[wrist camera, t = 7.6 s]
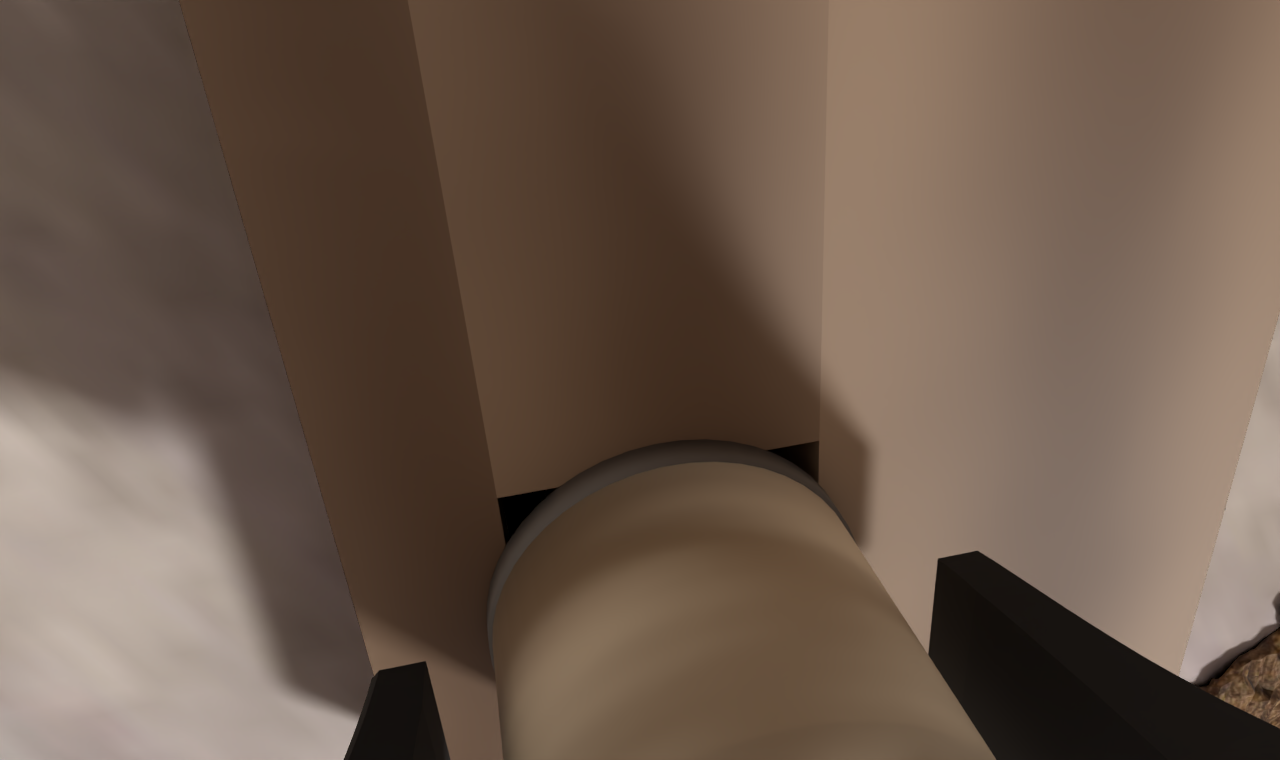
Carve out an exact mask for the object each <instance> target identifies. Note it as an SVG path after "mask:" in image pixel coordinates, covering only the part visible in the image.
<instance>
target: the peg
mask: <svg viewBox="0 0 1280 760" xmlns="http://www.w3.org/2000/svg"><path fill="white" fill-rule="evenodd" d="M487 630H488V641H489V650H490V655H491V661H492V666H493V669H494V672H495V678H496V688H497V699H498V709H499V720H500V730H501V741H502V752H503V760H996V758H995V757H994V755H993V754H992V752H991V751H990V749H989V748H988V746H987V744H986V743H985V741H984V740H983V738H982V737H981V735H980V734H979V732H978V731H977V729H976V728H975V726H974V724H973V723H972V721H971V720H970V718H969V717H968V715H967V714H966V712H965V711H964V709H963V708H962V706H961V704H960V703H959V701H958V700H957V698H956V697H955V695H954V694H953V692H952V691H951V689H950V688H949V686H948V684H947V683H946V681H945V680H944V678H943V677H942V675H941V674H940V672H939V671H938V669H937V668H936V666H935V664H934V663H933V661H932V660H931V658H930V657H929V655H928V654H927V652H926V651H925V649H924V648H923V646H922V644H921V643H920V641H919V640H918V638H917V637H916V635H915V634H914V632H913V631H912V629H911V628H910V626H909V625H908V623H907V621H906V620H905V618H904V617H903V615H902V614H901V612H900V611H899V609H898V608H897V606H896V605H895V603H894V601H893V600H892V598H891V597H890V595H889V594H888V592H887V591H886V589H885V588H884V586H883V585H882V583H881V581H880V580H879V578H878V577H877V575H876V574H875V572H874V571H873V569H872V568H871V566H870V565H869V563H868V561H867V560H866V558H865V557H864V555H863V554H862V552H861V551H860V549H859V548H858V546H857V545H856V541H855V539H854V537H853V535H852V533H851V530H850V528H849V526H848V524H847V523H846V521H845V520H844V518H843V517H842V515H841V514H840V512H839V511H838V509H837V508H836V506H835V505H834V503H833V502H832V500H831V499H830V497H829V496H828V494H827V493H826V492H825V490H824V489H823V488H822V487H821V486H820V485H819V484H818V483H817V482H816V481H815V480H814V479H813V478H812V477H811V476H810V475H809V474H808V473H806V472H805V471H803V470H802V469H801V468H799V467H798V466H797V465H795V464H794V463H792V462H790V461H788V460H786V459H784V458H782V457H781V456H779V455H777V454H775V453H772V452H769V451H766V450H763V449H761V448H758V447H755V446H751V445H746V444H741V443H737V442H732V441H721V440H709V439H699V440H678V441H672V442H665V443H659V444H653V445H649V446H645V447H642V448H638V449H634V450H631V451H627V452H625V453H622V454H620V455H617V456H614V457H612V458H609V459H607V460H604V461H602V462H600V463H598V464H596V465H594V466H592V467H590V468H589V469H587V470H585V471H583V472H581V473H579V474H578V475H576V476H575V477H573V478H572V479H570V480H569V481H567V482H566V483H564V484H563V485H561V486H560V487H557V488H551V489H546V492H545V497H544V500H543V501H542V502H540V503H539V504H538V505H537V506H536V507H535V508H534V510H533V511H532V512H531V513H530V514H529V515H528V516H527V517H526V518H525V519H524V520H523V521H522V523H521V524H520V525H519V527H518V528H517V530H516V531H515V532H514V534H513V535H512V537H511V538H510V540H509V541H508V543H507V544H506V546H505V548H504V550H503V552H502V554H501V556H500V558H499V560H498V562H497V565H496V568H495V570H494V573H493V576H492V579H491V582H490V588H489V593H488V599H487Z"/></svg>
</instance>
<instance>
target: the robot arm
mask: <svg viewBox="0 0 1280 760" xmlns="http://www.w3.org/2000/svg"><path fill="white" fill-rule="evenodd" d="M928 655H929V657H930V658H931V660H932V661H933V663H934V664H935V666H936V668H937V669H938V671H939V672H940V674H941V675H942V677H943V678H944V680H945V681H946V683H947V684H948V686H949V688H950V689H951V691H952V692H953V694H954V695H955V697H956V698H957V700H958V701H959V703H960V704H961V706H962V708H963V709H964V711H965V712H966V714H967V715H968V717H969V718H970V720H971V721H972V723H973V724H974V726H975V728H976V729H977V731H978V732H979V734H980V735H981V737H982V738H983V740H984V741H985V743H986V744H987V746H988V748H989V749H990V751H991V752H992V754H993V755H994V757H995V758H996V760H1280V728H1278V727H1276V726H1274V725H1272V724H1270V723H1268V722H1266V721H1264V720H1261V719H1259V718H1257V717H1255V716H1253V715H1251V714H1249V713H1247V712H1245V711H1243V710H1241V709H1239V708H1237V707H1235V706H1233V705H1231V704H1229V703H1227V702H1225V701H1223V700H1221V699H1219V698H1217V697H1215V696H1213V695H1211V694H1210V693H1208V692H1206V691H1204V690H1202V689H1200V688H1198V687H1196V686H1195V685H1193V684H1191V683H1189V682H1188V681H1186V680H1184V679H1182V678H1180V677H1179V676H1177V675H1175V674H1173V673H1172V672H1170V671H1168V670H1166V669H1165V668H1163V667H1161V666H1159V665H1157V664H1156V663H1154V662H1152V661H1150V660H1149V659H1147V658H1145V657H1144V656H1142V655H1140V654H1139V653H1137V652H1135V651H1134V650H1132V649H1130V648H1129V647H1127V646H1125V645H1124V644H1122V643H1120V642H1119V641H1117V640H1115V639H1114V638H1112V637H1111V636H1109V635H1107V634H1106V633H1104V632H1103V631H1101V630H1099V629H1098V628H1096V627H1095V626H1093V625H1092V624H1090V623H1088V622H1087V621H1085V620H1084V619H1082V618H1081V617H1079V616H1077V615H1076V614H1074V613H1073V612H1071V611H1070V610H1068V609H1067V608H1065V607H1064V606H1062V605H1060V604H1059V603H1057V602H1056V601H1054V600H1053V599H1051V598H1050V597H1048V596H1047V595H1045V594H1044V593H1042V592H1041V591H1039V590H1038V589H1036V588H1035V587H1033V586H1032V585H1030V584H1029V583H1027V582H1026V581H1024V580H1023V579H1021V578H1020V577H1018V576H1017V575H1015V574H1014V573H1012V572H1010V571H1009V570H1007V569H1006V568H1004V567H1003V566H1001V565H1000V564H998V563H997V562H995V561H994V560H992V559H990V558H989V557H987V556H986V555H984V554H982V553H981V552H979V551H973V552H968V553H963V554H958V555H953V556H948V557H943V558H938V561H937V571H936V581H935V591H934V601H933V611H932V621H931V631H930V641H929V651H928ZM344 760H450V756H449V752H448V748H447V744H446V740H445V736H444V732H443V728H442V723H441V719H440V715H439V711H438V707H437V703H436V699H435V695H434V691H433V687H432V683H431V679H430V675H429V671H428V667H427V663H426V661H423V662H418V663H413V664H408V665H403V666H398V667H393V668H388V669H383V670H379V671H378V672H377V673H376V674H375V676H374V677H373V678H372V680H371V684H370V687H369V691H368V694H367V697H366V700H365V703H364V706H363V709H362V712H361V715H360V718H359V721H358V724H357V726H356V729H355V732H354V735H353V737H352V740H351V742H350V745H349V747H348V750H347V753H346V755H345V758H344Z"/></svg>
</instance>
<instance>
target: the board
mask: <svg viewBox="0 0 1280 760" xmlns="http://www.w3.org/2000/svg"><path fill="white" fill-rule="evenodd" d="M179 2H180V6H181V9H182V13H183V16H184V20H185V23H186V27H187V30H188V33H189V37H190V40H191V44H192V47H193V51H194V54H195V58H196V61H197V65H198V68H199V72H200V75H201V78H202V82H203V85H204V89H205V92H206V96H207V99H208V103H209V106H210V110H211V113H212V117H213V120H214V123H215V127H216V130H217V134H218V137H219V141H220V144H221V148H222V151H223V155H224V158H225V162H226V165H227V169H228V172H229V175H230V179H231V182H232V186H233V189H234V193H235V196H236V200H237V203H238V207H239V210H240V214H241V217H242V220H243V224H244V227H245V231H246V234H247V238H248V241H249V245H250V248H251V252H252V255H253V259H254V262H255V265H256V269H257V272H258V276H259V279H260V283H261V286H262V290H263V293H264V297H265V300H266V304H267V307H268V311H269V314H270V317H271V321H272V324H273V328H274V331H275V335H276V338H277V342H278V345H279V349H280V352H281V356H282V359H283V362H284V366H285V369H286V373H287V376H288V380H289V383H290V387H291V390H292V394H293V397H294V401H295V404H296V408H297V411H298V414H299V418H300V421H301V425H302V428H303V432H304V435H305V439H306V442H307V446H308V449H309V453H310V456H311V459H312V463H313V466H314V470H315V473H316V477H317V480H318V484H319V487H320V491H321V494H322V498H323V501H324V504H325V508H326V511H327V515H328V518H329V522H330V525H331V529H332V532H333V536H334V539H335V543H336V546H337V550H338V553H339V556H340V560H341V563H342V567H343V570H344V574H345V577H346V581H347V584H348V588H349V591H350V595H351V598H352V601H353V605H354V608H355V612H356V615H357V619H358V622H359V626H360V629H361V633H362V636H363V640H364V643H365V646H366V650H367V653H368V657H369V660H370V664H371V667H372V671H373V674H374V676H375V674H376V673H377V672H378V671H379V670H383V669H388V668H393V667H398V666H403V665H408V664H413V663H418V662H423V661H426V663H427V667H428V671H429V675H430V679H431V683H432V687H433V691H434V695H435V699H436V703H437V707H438V711H439V715H440V719H441V723H442V728H443V732H444V736H445V740H446V744H447V748H448V752H449V756H450V760H503V752H502V741H501V730H500V720H499V709H498V699H497V688H496V678H495V672H494V669H493V666H492V661H491V655H490V650H489V641H488V630H487V599H488V593H489V588H490V582H491V579H492V576H493V573H494V570H495V568H496V565H497V562H498V560H499V558H500V556H501V554H502V552H503V550H504V548H505V546H506V544H507V543H508V541H509V540H510V538H509V532H508V526H507V521H506V515H505V509H504V504H503V498H502V497H506V496H512V495H517V494H523V493H529V492H534V491H540V490H545V489H551V488H557V487H560V486H561V485H563V484H564V483H566V482H567V481H569V480H570V479H572V478H573V477H575V476H576V475H578V474H579V473H581V472H583V471H585V470H587V469H589V468H590V467H592V466H594V465H596V464H598V463H600V462H602V461H604V460H607V459H609V458H612V457H614V456H617V455H620V454H622V453H625V452H627V451H631V450H634V449H638V448H642V447H645V446H649V445H653V444H659V443H665V442H672V441H678V440H699V439H709V440H721V441H732V442H737V443H741V444H746V445H751V446H755V447H758V448H761V449H763V450H766V451H769V452H772V453H775V454H777V455H779V456H781V457H782V458H784V459H786V460H788V461H790V462H792V463H794V464H795V465H797V466H798V467H799V468H801V469H802V470H803V471H805V472H806V473H808V474H809V475H810V476H811V477H812V478H813V479H814V480H815V481H816V482H817V483H818V484H819V485H820V486H821V487H822V488H823V489H824V490H825V492H826V493H827V494H828V496H829V497H830V499H831V500H832V502H833V503H834V505H835V506H836V508H837V509H838V511H839V512H840V514H841V515H842V517H843V518H844V520H845V521H846V523H847V524H848V526H849V528H850V530H851V533H852V535H853V537H854V539H855V541H856V545H857V546H858V548H859V549H860V551H861V552H862V554H863V555H864V557H865V558H866V560H867V561H868V563H869V565H870V566H871V568H872V569H873V571H874V572H875V574H876V575H877V577H878V578H879V580H880V581H881V583H882V585H883V586H884V588H885V589H886V591H887V592H888V594H889V595H890V597H891V598H892V600H893V601H894V603H895V605H896V606H897V608H898V609H899V611H900V612H901V614H902V615H903V617H904V618H905V620H906V621H907V623H908V625H909V626H910V628H911V629H912V631H913V632H914V634H915V635H916V637H917V638H918V640H919V641H920V643H921V644H922V646H923V648H924V649H925V651H926V652H927V654H928V651H929V641H930V631H931V621H932V611H933V601H934V591H935V581H936V571H937V561H938V558H943V557H948V556H953V555H958V554H963V553H968V552H973V551H979V552H981V553H982V554H984V555H986V556H987V557H989V558H990V559H992V560H994V561H995V562H997V563H998V564H1000V565H1001V566H1003V567H1004V568H1006V569H1007V570H1009V571H1010V572H1012V573H1014V574H1015V575H1017V576H1018V577H1020V578H1021V579H1023V580H1024V581H1026V582H1027V583H1029V584H1030V585H1032V586H1033V587H1035V588H1036V589H1038V590H1039V591H1041V592H1042V593H1044V594H1045V595H1047V596H1048V597H1050V598H1051V599H1053V600H1054V601H1056V602H1057V603H1059V604H1060V605H1062V606H1064V607H1065V608H1067V609H1068V610H1070V611H1071V612H1073V613H1074V614H1076V615H1077V616H1079V617H1081V618H1082V619H1084V620H1085V621H1087V622H1088V623H1090V624H1092V625H1093V626H1095V627H1096V628H1098V629H1099V630H1101V631H1103V632H1104V633H1106V634H1107V635H1109V636H1111V637H1112V638H1114V639H1115V640H1117V641H1119V642H1120V643H1122V644H1124V645H1125V646H1127V647H1129V648H1130V649H1132V650H1134V651H1135V652H1137V653H1139V654H1140V655H1142V656H1144V657H1145V658H1147V659H1149V660H1150V661H1152V662H1154V663H1156V664H1157V665H1159V666H1161V667H1163V668H1165V669H1166V670H1168V671H1170V672H1172V673H1173V674H1175V675H1177V676H1179V672H1180V669H1181V665H1182V661H1183V658H1184V654H1185V651H1186V647H1187V643H1188V640H1189V636H1190V633H1191V629H1192V625H1193V622H1194V618H1195V615H1196V611H1197V607H1198V604H1199V600H1200V597H1201V593H1202V589H1203V586H1204V582H1205V579H1206V575H1207V571H1208V568H1209V564H1210V561H1211V557H1212V553H1213V550H1214V546H1215V543H1216V539H1217V536H1218V532H1219V528H1220V525H1221V521H1222V518H1223V514H1224V510H1225V507H1226V503H1227V500H1228V496H1229V492H1230V489H1231V485H1232V482H1233V478H1234V474H1235V471H1236V467H1237V464H1238V460H1239V456H1240V453H1241V449H1242V446H1243V442H1244V438H1245V435H1246V431H1247V428H1248V424H1249V420H1250V417H1251V413H1252V410H1253V406H1254V403H1255V399H1256V395H1257V392H1258V388H1259V385H1260V381H1261V377H1262V374H1263V370H1264V367H1265V363H1266V359H1267V356H1268V352H1269V349H1270V345H1271V341H1272V338H1273V334H1274V331H1275V327H1276V323H1277V320H1278V316H1279V313H1280V0H179Z"/></svg>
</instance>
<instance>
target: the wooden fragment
mask: <svg viewBox="0 0 1280 760" xmlns="http://www.w3.org/2000/svg"><path fill="white" fill-rule="evenodd" d="M1198 688H1200V689H1202V690H1204V691H1206V692H1208V693H1210V694H1211V695H1213V696H1215V697H1217V698H1219V699H1221V700H1223V701H1225V702H1227V703H1229V704H1231V705H1233V706H1235V707H1237V708H1239V709H1241V710H1243V711H1245V712H1247V713H1249V714H1251V715H1253V716H1255V717H1257V718H1259V719H1261V720H1264V721H1266V722H1268V723H1270V724H1272V725H1274V726H1276V727H1278V728H1280V627H1279V628H1278V629H1277V631H1276V632H1273V633H1272V634H1270V635H1269V636H1268V637H1267V638H1265V639H1264V640H1262V641H1261V643H1260V644H1259V645H1258V646H1257V647H1256V648H1255V649H1252V650H1249V651H1248V652H1247V653H1245V654H1242V655H1240V656H1238V658H1237V659H1236V660H1235V661H1234V662H1233V664H1232V665H1231V666H1230V667H1229V668H1228V669H1227V671H1226V672H1225V673H1224V674H1223V675H1222V676H1221V677H1220V678H1219V679H1211V682H1210V684H1209V685H1207V686H1206V687H1198Z"/></svg>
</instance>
